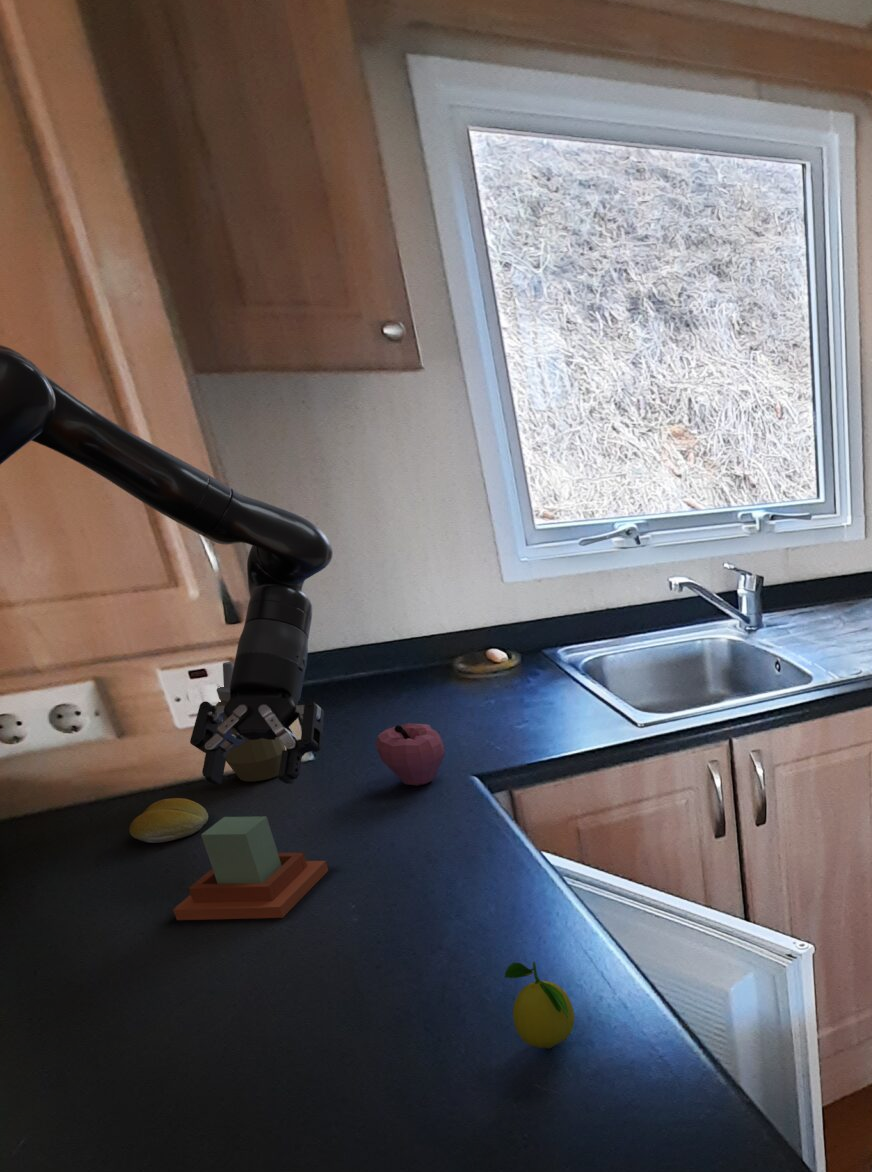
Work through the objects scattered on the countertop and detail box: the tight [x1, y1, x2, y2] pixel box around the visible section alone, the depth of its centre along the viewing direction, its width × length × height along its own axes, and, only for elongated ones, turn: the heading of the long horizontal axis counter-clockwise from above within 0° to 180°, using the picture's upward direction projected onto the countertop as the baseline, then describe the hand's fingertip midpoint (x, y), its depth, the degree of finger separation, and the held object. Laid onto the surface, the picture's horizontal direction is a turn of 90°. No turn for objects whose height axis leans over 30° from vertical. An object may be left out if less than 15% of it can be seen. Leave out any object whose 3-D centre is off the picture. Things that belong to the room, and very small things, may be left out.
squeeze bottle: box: [215, 661, 286, 782], centre depth 159 cm, size 8×8×18 cm
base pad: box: [172, 852, 329, 921], centre depth 129 cm, size 12×12×4 cm
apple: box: [375, 722, 446, 787], centre depth 159 cm, size 10×9×10 cm
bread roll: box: [128, 797, 209, 844], centre depth 144 cm, size 8×9×4 cm
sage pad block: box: [200, 815, 282, 884], centre depth 127 cm, size 5×5×8 cm
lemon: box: [504, 960, 575, 1049], centre depth 102 cm, size 7×6×10 cm
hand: (249, 781), depth 129 cm, fingers open, 8 cm apart
